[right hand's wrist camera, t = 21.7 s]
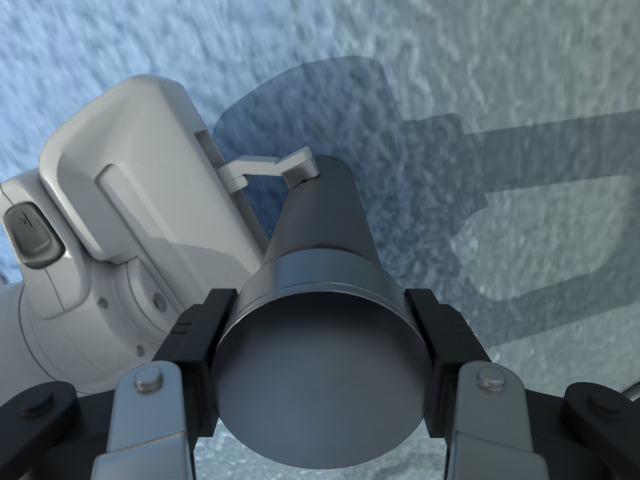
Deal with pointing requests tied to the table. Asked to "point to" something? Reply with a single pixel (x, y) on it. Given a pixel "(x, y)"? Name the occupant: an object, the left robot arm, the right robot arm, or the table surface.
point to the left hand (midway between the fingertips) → (337, 206)
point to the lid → (321, 362)
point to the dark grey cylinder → (323, 216)
